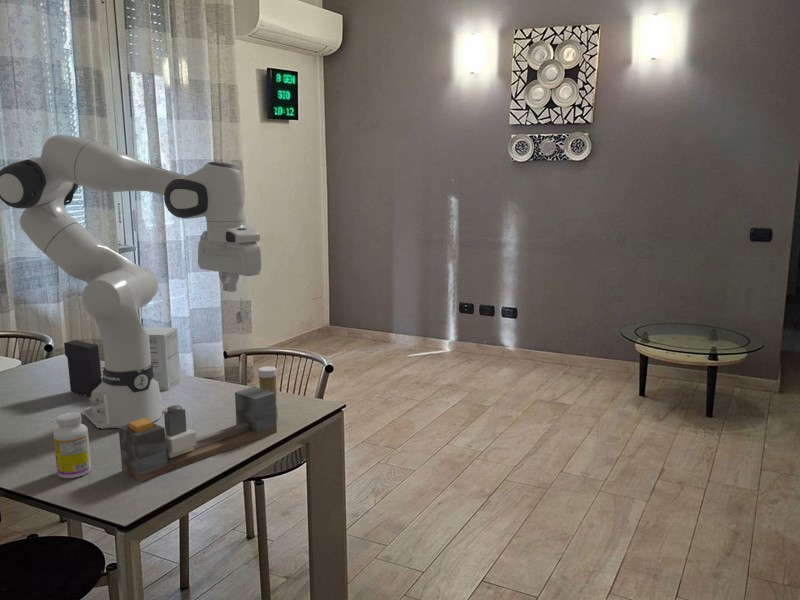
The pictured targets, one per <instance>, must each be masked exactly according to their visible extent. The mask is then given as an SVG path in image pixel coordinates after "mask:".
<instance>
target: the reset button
mask: <svg viewBox="0 0 800 600" xmlns="http://www.w3.org/2000/svg"><path fill="white" fill-rule="evenodd" d="M153 423H154V422H152V421H150V420H147V419H145V418H143V419H140V420H137V421H133V422H130V423H129V429H130V430H132V431H134V432H136V433H139V432H142V431H145V430H148V429H152V428H154V424H155V423H154V424H153Z"/></svg>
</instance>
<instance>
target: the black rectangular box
mask: <svg viewBox="0 0 800 600" xmlns="http://www.w3.org/2000/svg"><path fill="white" fill-rule="evenodd" d="M99 347H100V346H99V345H98V344H95V343H90V342H86V341H81V340H76V339H75V340H71V341H66V342H64V343H63V348H64V355H65V357H66V358H67V368H68V376H69V377H68V378H69V386H70V387H69V388H70V392H71V391H72V392H75V393H74V394H76V393H78V394H77V395H79V394H82V395H81V396H83V395H86V396H85V397H87V396H89V397H88V398H90V397H91V393H92V391H93V390H94V389H95V388H96V387H97V386H98V385H99V384H100V383H101V382H102V377H103V376H102V374H103V372H102V364H101V363H102V362H101V359H100V348H99ZM72 392H71V393H72Z"/></svg>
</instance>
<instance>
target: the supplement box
mask: <svg viewBox="0 0 800 600" xmlns="http://www.w3.org/2000/svg"><path fill="white" fill-rule="evenodd" d="M144 330H145V331H147V333H148V335H149V342H150V355H151V363H153V368H154V377H153V379H154V380H156V381H157V382H158V385H159V391H169V390H171V389H172V388H173V387H174V386H176V385H177V384H178V383H180V382H181V381H182V376H181V364H180V352H179V349H180V348H179V347H180V346H179V336H178V327H164V326H163V327H160V326H159V327H158V326H149V327H147V328H144Z"/></svg>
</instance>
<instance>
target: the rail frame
mask: <svg viewBox="0 0 800 600" xmlns="http://www.w3.org/2000/svg"><path fill="white" fill-rule="evenodd" d="M234 401H235V419H236V420H235V421H236V422H235V423H236V424H235V425H231V426H229V427H226V428H223V429H221V430H217V431H215V432H212V433H211V432H210V433H208V434H206V435H203V436H200V437H196V445H194V450H192V451H189V452H186V453H184V454H181V455H178V456H175V457H172V458H169V457H168V451H167V450H166V442H165V426H164V427H163V426H161V425H159V424H157V423H154V422H153V424H154V428H152V429H148V430H145V431H142V432H139V433H136V432H134V431H132V430H130V429H129V424H127V425H124V426H120V427H119V428H118V435H119V449H120V450H119V451H120V460H121V461H120V462H121V471H122V472H123V473H125V474H127V475H129V476H131V477H132V478H134V479H136V480H138V481H140V482H144V481H147V480H150V479H153V478H155V477H159V476H160V475H164V474H166V473H169V472H171V471H175V470H177V469H180V468H183V467H186V466H188V465H191V464H193V463H195V462H196V463H197V462H199V461H201V460H204V459H208V458H210V457H213V456H215V455H217V454H221V453H224V452H226V451H229V450H231V449H234V448H236V447H237V448H238V447H240V446H242V445H245V444H248V443H251V442H253V441H256V440H259V439H262V438H264V437H268V436H270V435H273V434H276V433H278V428H277V419H276V398H275V393H273V392H270V391H267V390H264V389H261V388H260V387H257V386H252V387H249V388H245V389H242V390H239V391H236V392H234ZM272 433H273V434H272Z"/></svg>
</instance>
